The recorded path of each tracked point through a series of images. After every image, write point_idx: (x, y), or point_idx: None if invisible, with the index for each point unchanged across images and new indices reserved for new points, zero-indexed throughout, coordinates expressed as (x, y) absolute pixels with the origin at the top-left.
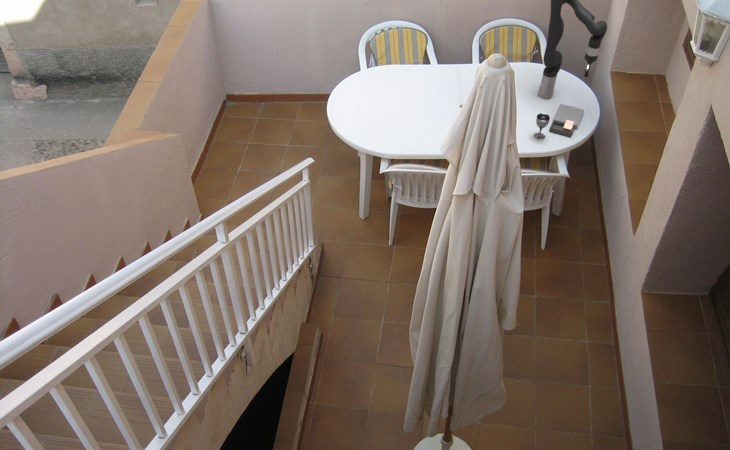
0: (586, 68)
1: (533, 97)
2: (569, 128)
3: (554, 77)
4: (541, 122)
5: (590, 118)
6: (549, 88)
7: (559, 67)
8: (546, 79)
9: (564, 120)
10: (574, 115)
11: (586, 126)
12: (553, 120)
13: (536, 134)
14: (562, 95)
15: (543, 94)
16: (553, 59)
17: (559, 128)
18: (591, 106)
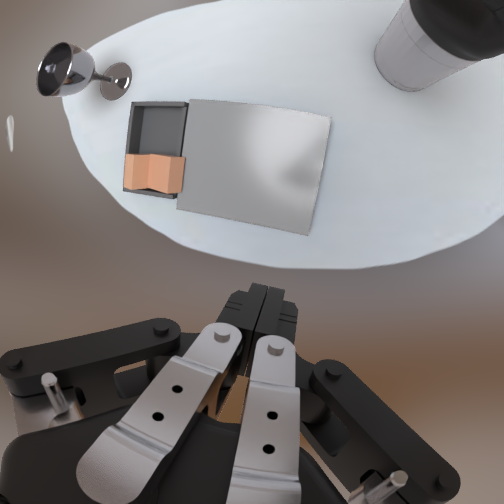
0: (7, 385)
1: (370, 15)
2: (125, 179)
3: (427, 37)
4: (43, 75)
5: (277, 259)
6: (392, 47)
7: (489, 42)
8: (404, 1)
9: (196, 148)
10: (247, 190)
11: (217, 243)
12: (178, 102)
13: (116, 70)
14: (426, 137)
15: (380, 40)
16: None
17: (166, 137)
18: (366, 264)
